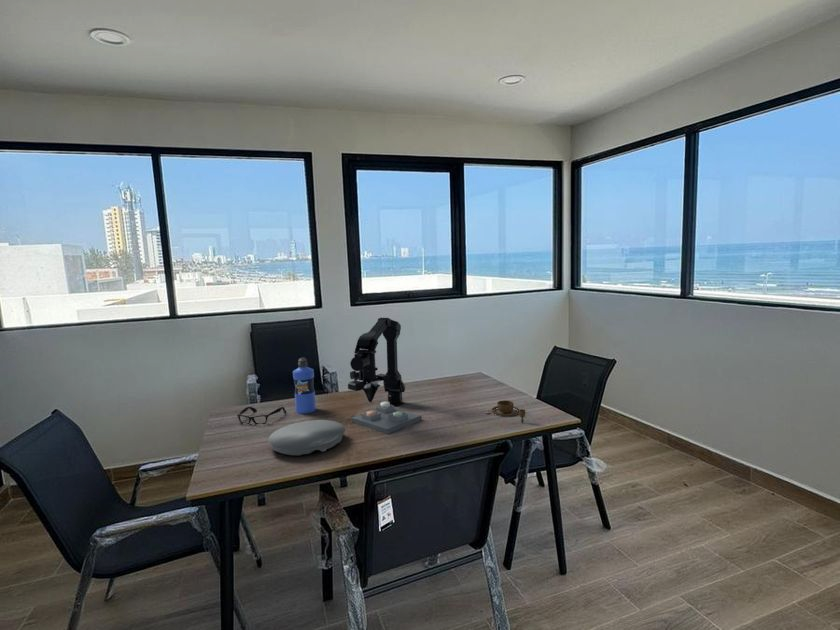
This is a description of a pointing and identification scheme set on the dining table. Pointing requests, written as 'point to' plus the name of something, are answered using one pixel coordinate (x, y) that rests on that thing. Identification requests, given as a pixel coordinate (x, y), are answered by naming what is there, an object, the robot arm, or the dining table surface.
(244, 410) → the glasses
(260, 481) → the dining table surface
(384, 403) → the ivory button
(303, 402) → the water bottle
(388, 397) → the robot arm
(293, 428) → the grey low domed part
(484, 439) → the dining table surface
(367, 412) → the terracotta button
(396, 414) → the sage button
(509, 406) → the place setting
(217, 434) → the dining table surface
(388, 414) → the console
